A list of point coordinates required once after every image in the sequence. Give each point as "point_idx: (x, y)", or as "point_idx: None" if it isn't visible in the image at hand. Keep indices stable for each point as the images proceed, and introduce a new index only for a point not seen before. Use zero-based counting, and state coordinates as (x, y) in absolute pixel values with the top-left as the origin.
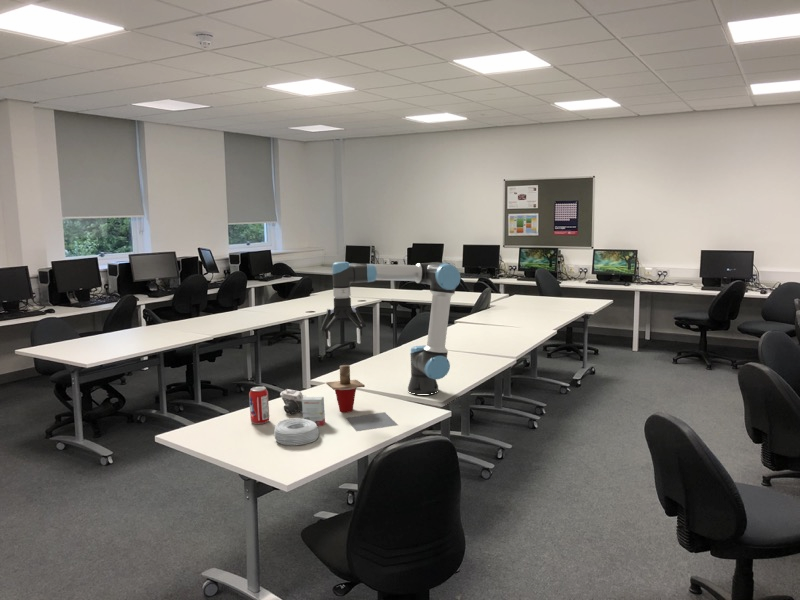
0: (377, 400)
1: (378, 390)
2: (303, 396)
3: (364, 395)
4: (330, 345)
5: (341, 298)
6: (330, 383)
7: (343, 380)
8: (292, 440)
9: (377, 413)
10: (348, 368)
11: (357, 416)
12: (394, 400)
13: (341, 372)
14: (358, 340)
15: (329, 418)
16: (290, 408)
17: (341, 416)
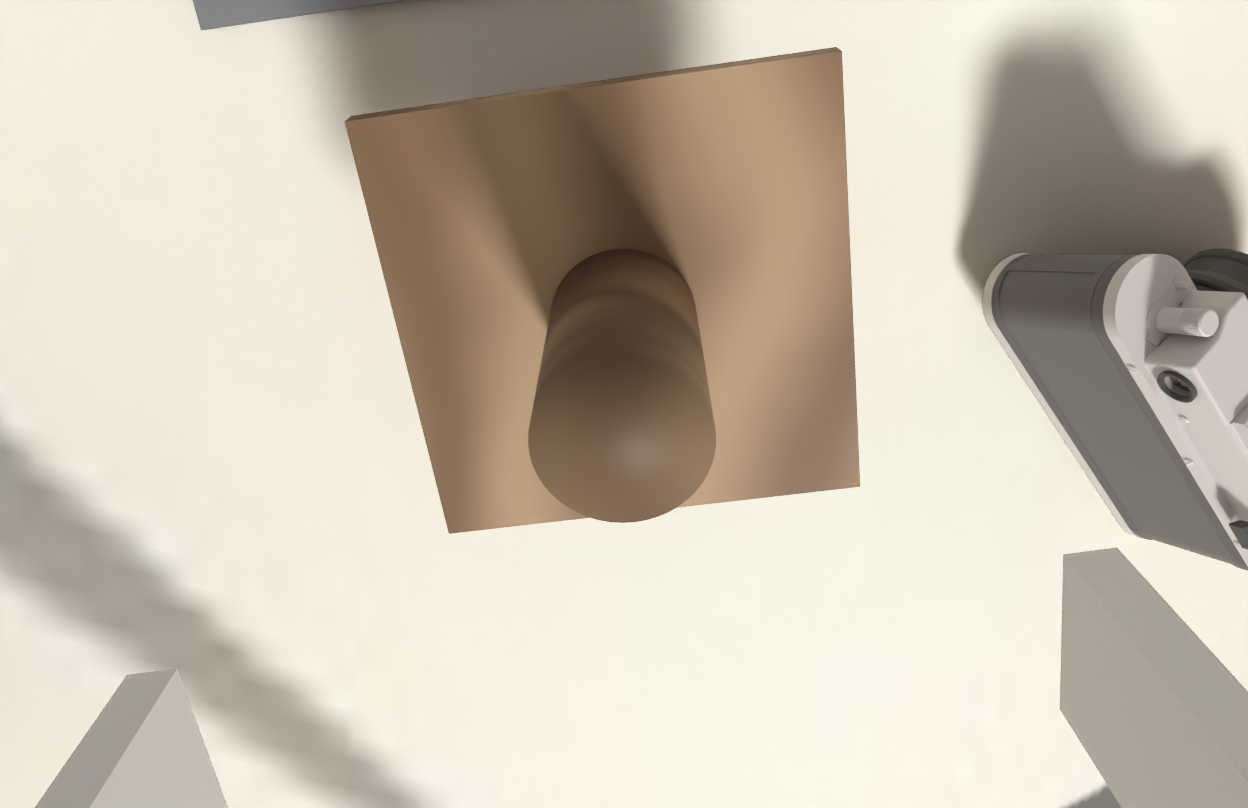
0: (268, 480)
1: (245, 760)
2: (1139, 322)
3: (390, 656)
4: (1080, 568)
5: None
6: (823, 391)
7: (656, 276)
8: None
9: (286, 9)
10: (560, 361)
11: None
12: (90, 435)
13: (688, 344)
14: (148, 754)
15: (828, 31)
16: (1239, 258)
17: (692, 63)
